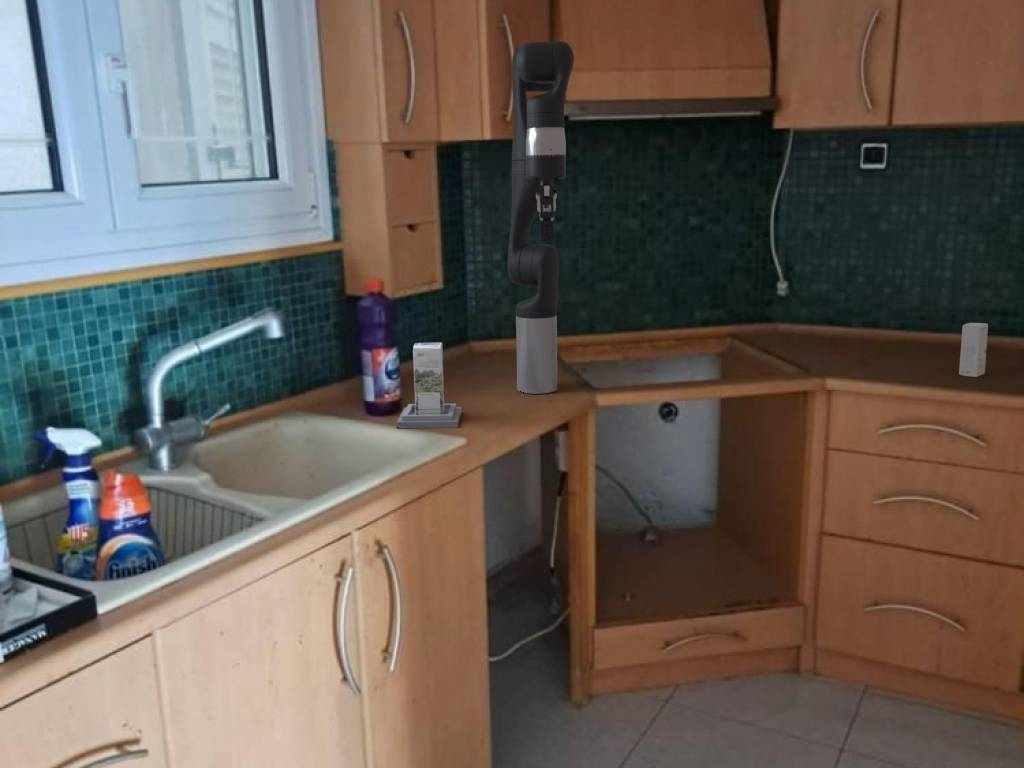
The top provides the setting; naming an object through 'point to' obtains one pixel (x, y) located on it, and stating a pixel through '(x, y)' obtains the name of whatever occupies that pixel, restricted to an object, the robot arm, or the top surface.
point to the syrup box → (428, 378)
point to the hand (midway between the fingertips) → (546, 240)
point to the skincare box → (973, 349)
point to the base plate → (430, 418)
